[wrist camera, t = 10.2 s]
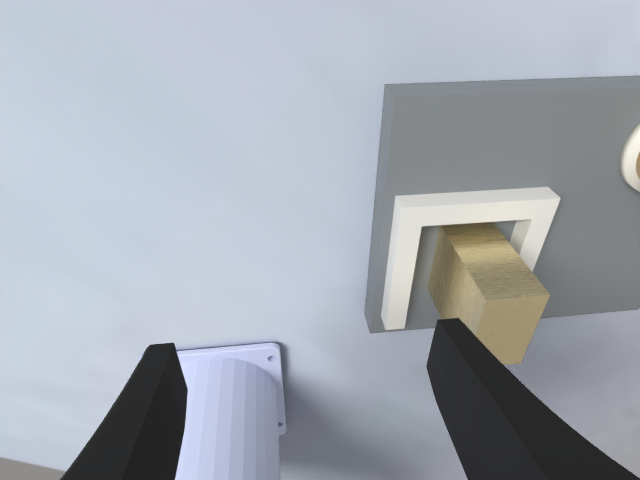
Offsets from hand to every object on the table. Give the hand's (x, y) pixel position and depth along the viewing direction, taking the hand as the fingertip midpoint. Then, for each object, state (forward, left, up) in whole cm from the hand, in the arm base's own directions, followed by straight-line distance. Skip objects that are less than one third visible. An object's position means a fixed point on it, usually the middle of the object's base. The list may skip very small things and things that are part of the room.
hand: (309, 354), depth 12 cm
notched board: (-2, -12, -9) cm, 15 cm away
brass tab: (-4, -8, -8) cm, 12 cm away
